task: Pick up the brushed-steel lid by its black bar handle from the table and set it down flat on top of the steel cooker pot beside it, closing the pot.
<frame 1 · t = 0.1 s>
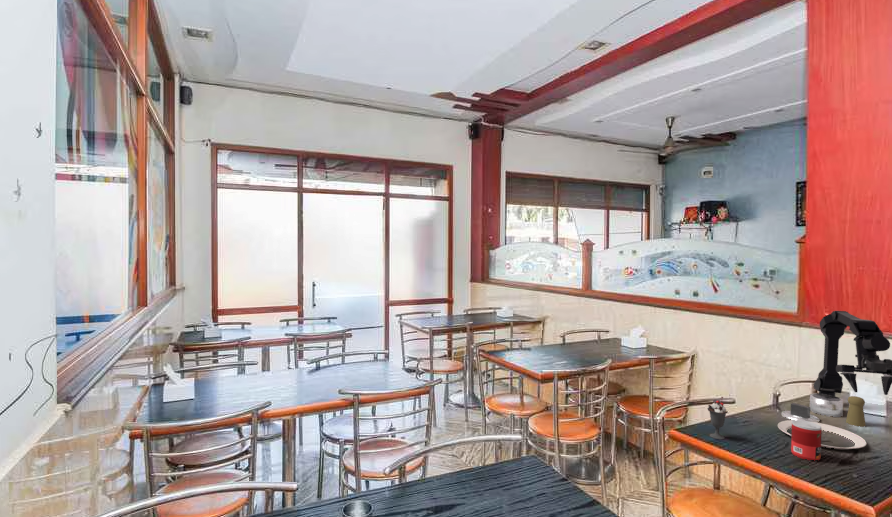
hand: (870, 393, 174), 15 cm above the table, tool pointing down, fingers open, 9 cm apart
plate: (819, 438, 170), on the table
cork: (855, 424, 184), on the table
cooker lid: (800, 418, 190), on the table
canned food: (805, 456, 154), on the table
sundae: (717, 437, 170), on the table
cooker pot: (825, 412, 196), on the table
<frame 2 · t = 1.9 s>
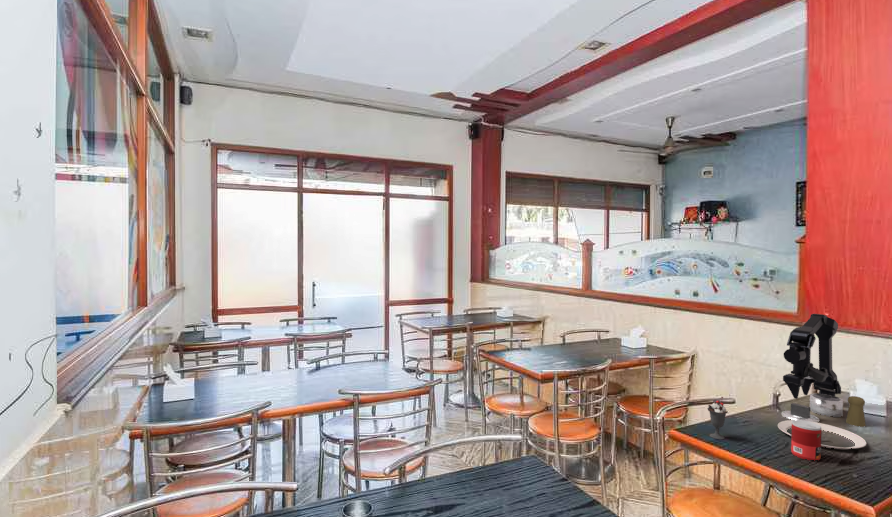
hand: (800, 396, 190), 9 cm above the table, tool pointing down, fingers open, 9 cm apart
nothing on the table moved.
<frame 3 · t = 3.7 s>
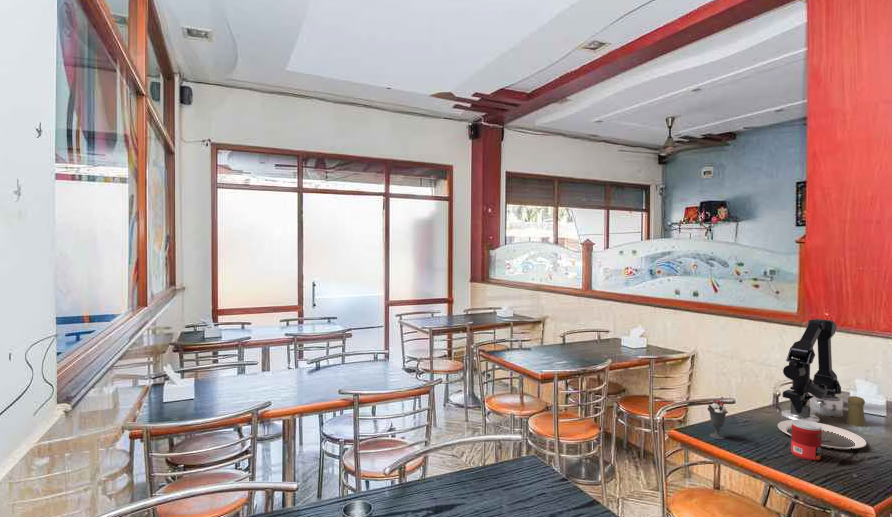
hand: (800, 412, 190), 2 cm above the table, tool pointing down, fingers closed on cooker lid, 2 cm apart
cooker lid: (800, 417, 190), on the table, touching gripper
everything else where it was.
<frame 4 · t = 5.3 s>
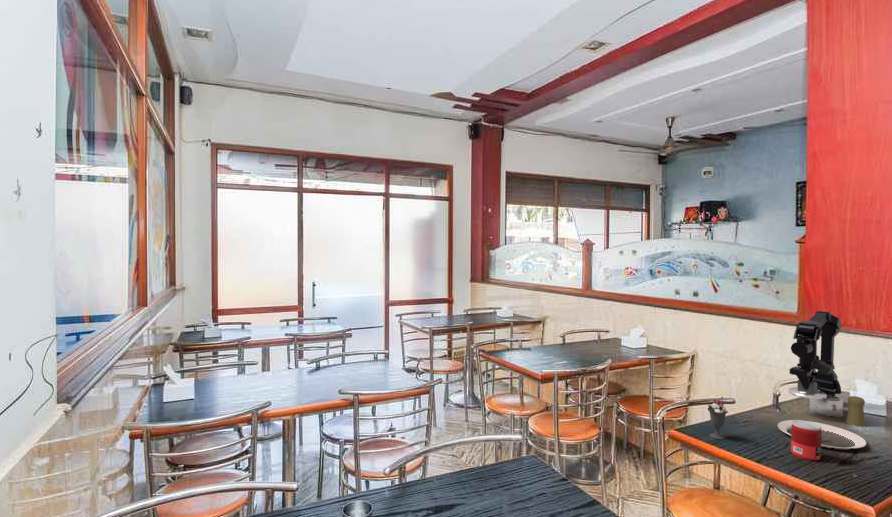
hand: (807, 389, 192), 11 cm above the table, tool pointing down, fingers closed on cooker lid, 2 cm apart
cooker lid: (807, 394, 192), point 9 cm above the table, touching gripper
everything else where it was.
when the fingers open (9 cm above the table, at t = 7.1 s): cooker lid stays where it is, resting on cooker pot.
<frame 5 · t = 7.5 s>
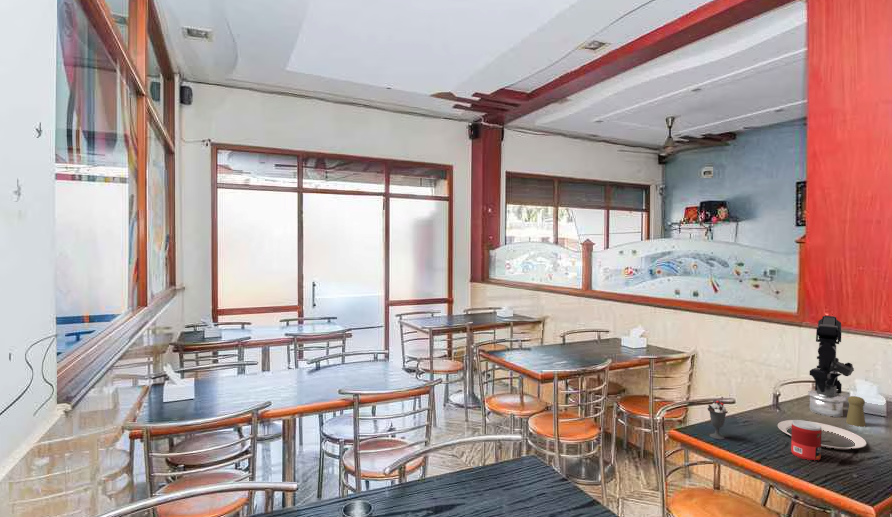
hand: (826, 390, 196), 9 cm above the table, tool pointing down, fingers open, 7 cm apart
cooker lid: (826, 397, 196), point 7 cm above the table, touching cooker pot
everything else where it was.
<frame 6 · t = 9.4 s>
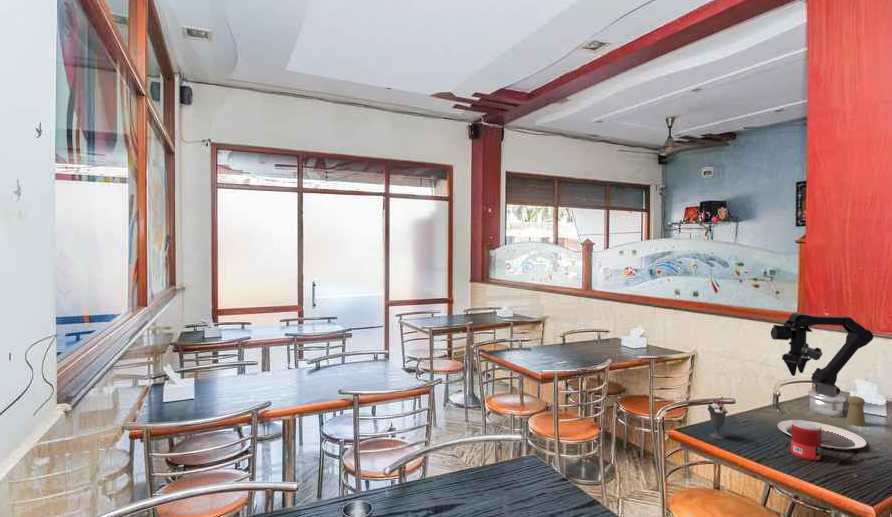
hand: (797, 374, 209), 13 cm above the table, tool pointing down, fingers open, 9 cm apart
nothing on the table moved.
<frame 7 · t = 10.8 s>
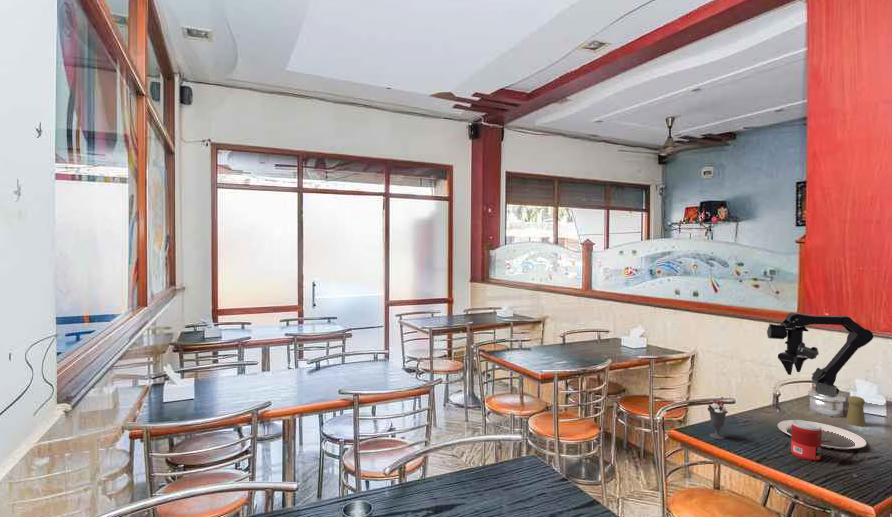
hand: (793, 373, 211), 13 cm above the table, tool pointing down, fingers open, 9 cm apart
nothing on the table moved.
at the end: cooker lid 0.1 cm from the cooker pot (horizontally); cooker lid point 6.6 cm above the table; cooker lid tilted 0° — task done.
